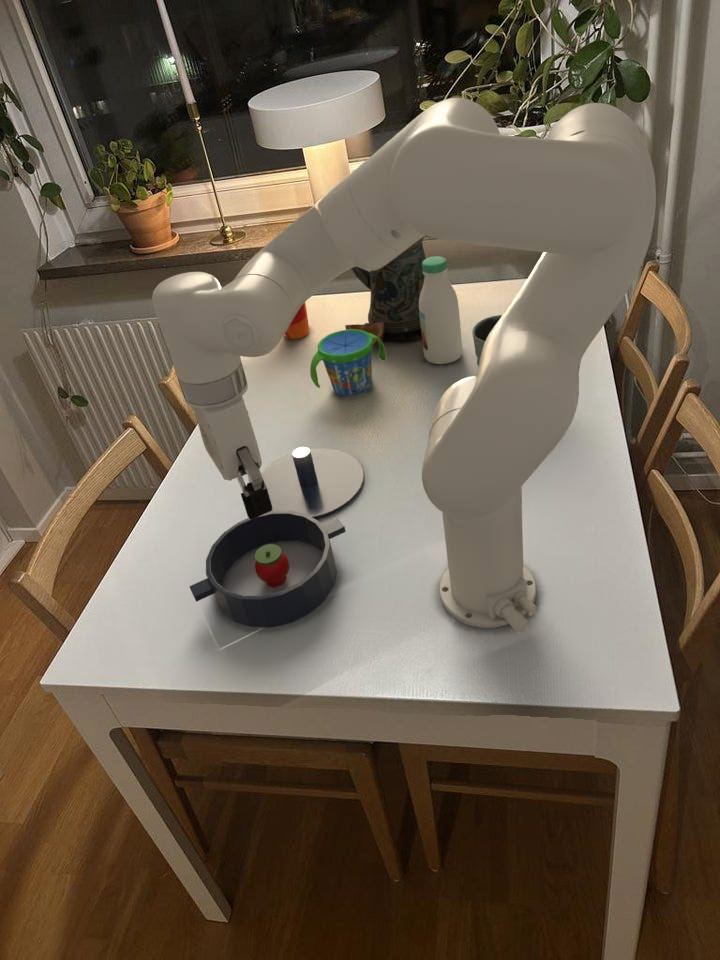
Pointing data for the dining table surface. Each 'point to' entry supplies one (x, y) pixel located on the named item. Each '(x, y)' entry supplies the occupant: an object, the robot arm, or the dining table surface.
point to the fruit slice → (370, 329)
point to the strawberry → (271, 565)
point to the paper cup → (298, 325)
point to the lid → (313, 481)
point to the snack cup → (347, 360)
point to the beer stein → (397, 294)
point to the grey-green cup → (483, 333)
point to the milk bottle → (439, 314)
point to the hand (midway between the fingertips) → (247, 493)
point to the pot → (279, 604)
